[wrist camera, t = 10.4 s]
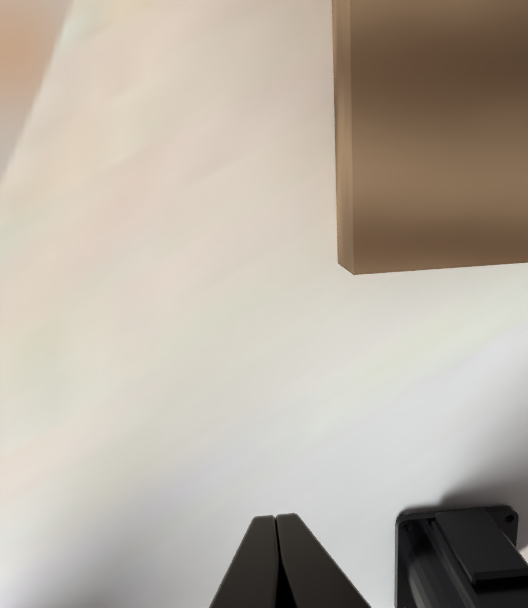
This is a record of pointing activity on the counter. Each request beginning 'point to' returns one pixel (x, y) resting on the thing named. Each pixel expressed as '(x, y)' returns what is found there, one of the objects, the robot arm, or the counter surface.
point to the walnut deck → (430, 133)
